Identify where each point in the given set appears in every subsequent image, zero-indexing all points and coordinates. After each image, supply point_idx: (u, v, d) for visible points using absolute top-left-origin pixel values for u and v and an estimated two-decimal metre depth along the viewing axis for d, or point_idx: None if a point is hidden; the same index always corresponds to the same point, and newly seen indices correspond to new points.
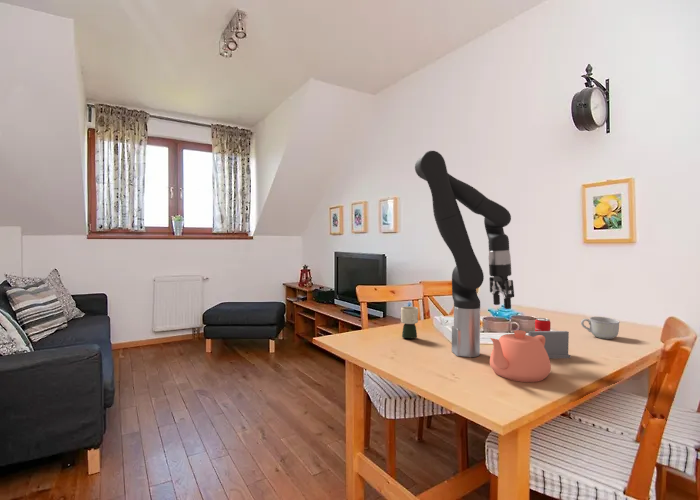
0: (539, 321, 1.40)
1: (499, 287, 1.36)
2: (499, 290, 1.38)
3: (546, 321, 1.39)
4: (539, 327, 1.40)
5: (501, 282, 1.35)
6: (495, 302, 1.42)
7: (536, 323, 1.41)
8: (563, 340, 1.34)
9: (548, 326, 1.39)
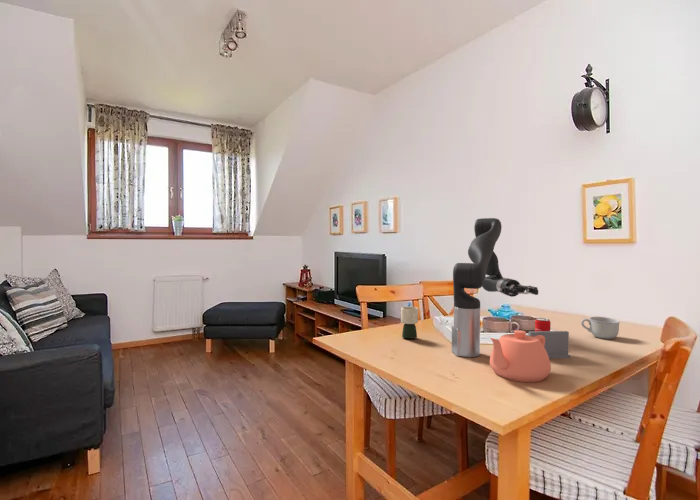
0: (539, 321, 1.40)
1: (522, 285, 1.61)
2: (521, 287, 1.59)
3: (546, 321, 1.39)
4: (539, 327, 1.40)
5: None
6: None
7: (536, 323, 1.41)
8: (563, 340, 1.34)
9: (548, 326, 1.39)
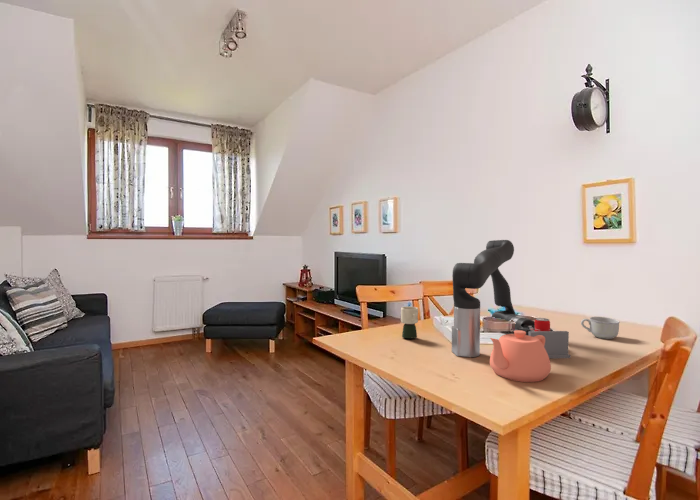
0: (539, 321, 1.40)
1: None
2: None
3: (546, 321, 1.39)
4: (538, 327, 1.40)
5: None
6: None
7: (536, 323, 1.41)
8: (563, 340, 1.34)
9: (548, 326, 1.39)
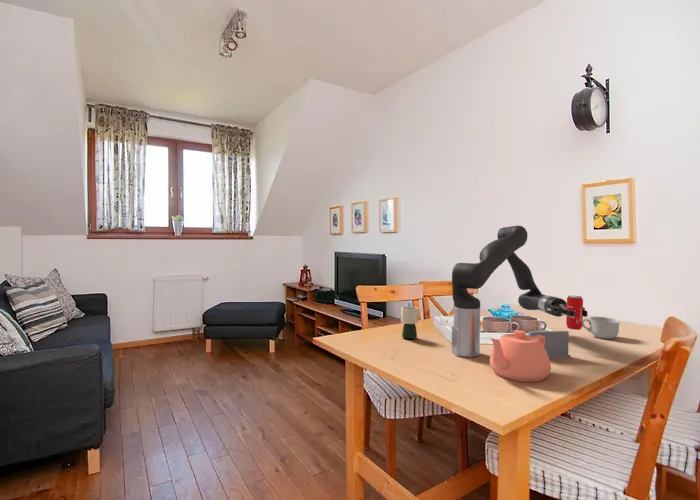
0: (571, 298, 1.40)
1: None
2: (566, 307, 1.46)
3: (579, 298, 1.39)
4: (571, 305, 1.40)
5: None
6: None
7: (568, 300, 1.41)
8: (563, 340, 1.34)
9: (581, 303, 1.39)
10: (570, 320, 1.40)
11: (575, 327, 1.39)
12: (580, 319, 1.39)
